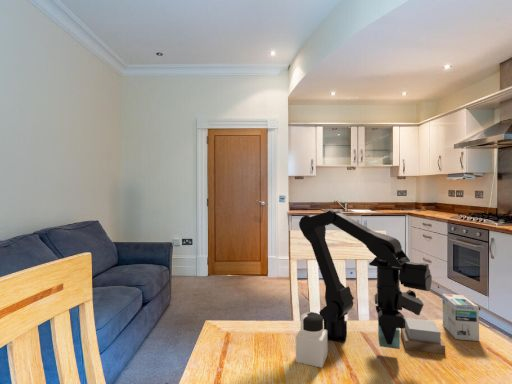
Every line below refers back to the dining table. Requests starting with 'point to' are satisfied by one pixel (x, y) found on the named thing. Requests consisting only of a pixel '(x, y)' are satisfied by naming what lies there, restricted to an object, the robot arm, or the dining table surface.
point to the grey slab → (422, 330)
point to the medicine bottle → (311, 340)
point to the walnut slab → (422, 344)
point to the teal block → (382, 339)
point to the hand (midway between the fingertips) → (388, 339)
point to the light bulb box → (461, 317)
